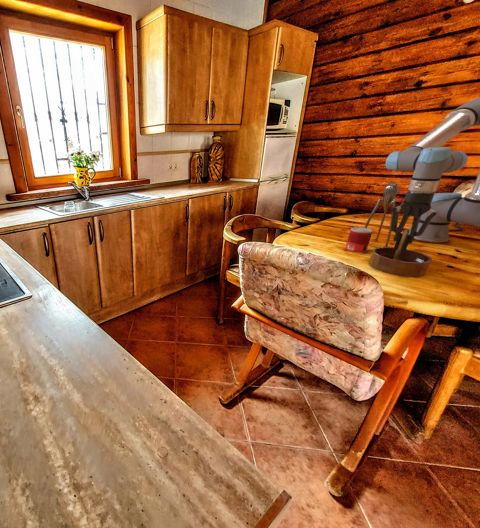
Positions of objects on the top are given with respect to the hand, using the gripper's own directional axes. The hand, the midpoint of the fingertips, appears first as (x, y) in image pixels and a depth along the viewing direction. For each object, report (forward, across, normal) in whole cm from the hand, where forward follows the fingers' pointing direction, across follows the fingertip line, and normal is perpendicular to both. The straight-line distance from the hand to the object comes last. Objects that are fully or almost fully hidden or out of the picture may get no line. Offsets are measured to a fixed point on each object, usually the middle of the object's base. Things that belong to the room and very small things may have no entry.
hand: (399, 249), depth 114 cm
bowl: (+8, +1, -3) cm, 8 cm away
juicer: (+8, -17, +24) cm, 30 cm away
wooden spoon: (+6, 0, 0) cm, 6 cm away
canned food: (+8, -17, +7) cm, 20 cm away
